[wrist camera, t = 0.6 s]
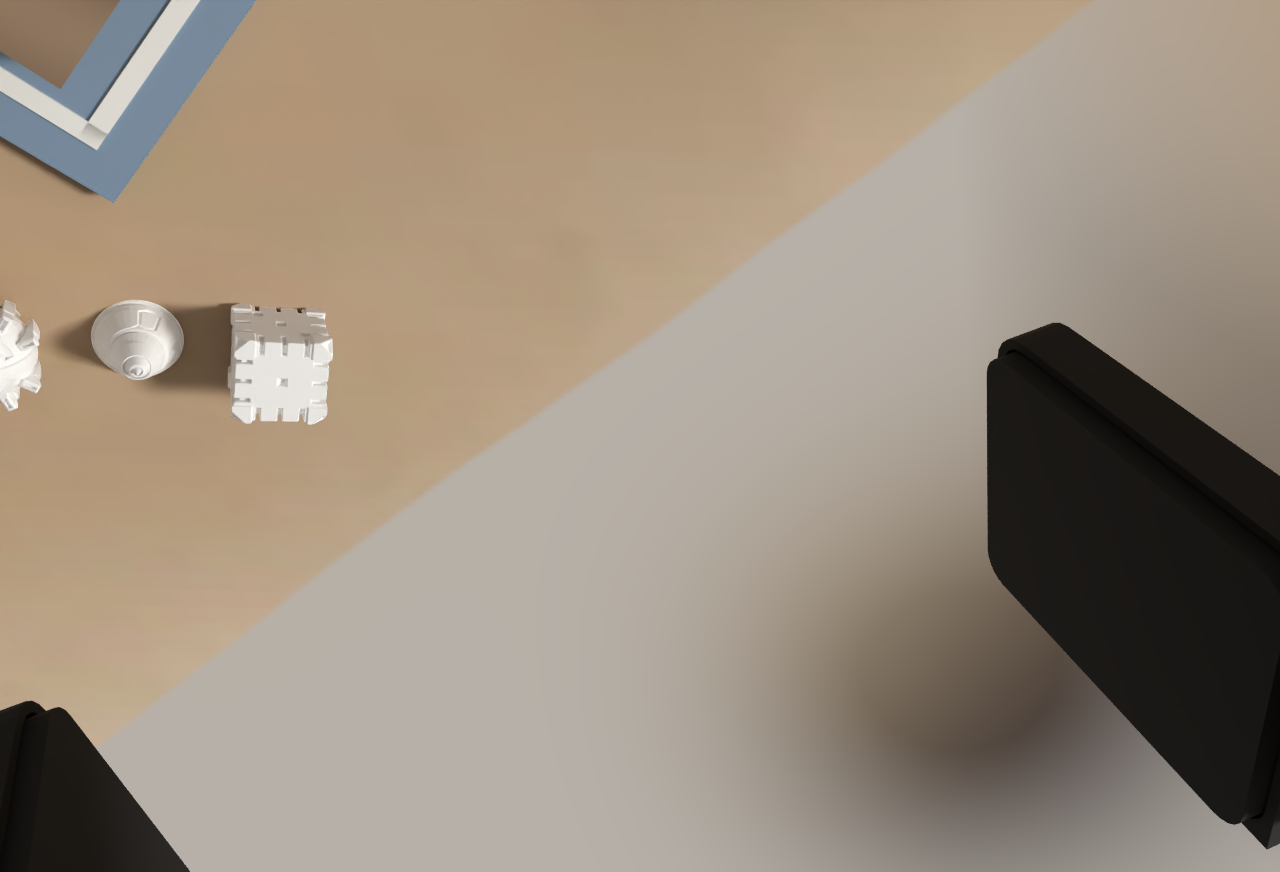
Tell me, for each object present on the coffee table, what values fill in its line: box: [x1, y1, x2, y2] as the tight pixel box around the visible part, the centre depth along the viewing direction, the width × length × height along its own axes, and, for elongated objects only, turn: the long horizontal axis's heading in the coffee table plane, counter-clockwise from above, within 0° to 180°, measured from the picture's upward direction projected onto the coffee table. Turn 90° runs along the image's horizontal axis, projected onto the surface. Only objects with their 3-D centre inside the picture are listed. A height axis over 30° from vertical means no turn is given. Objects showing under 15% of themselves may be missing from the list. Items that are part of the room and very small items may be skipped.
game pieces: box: [0, 299, 333, 424], centre depth 36 cm, size 12×3×3 cm, turn 77°
